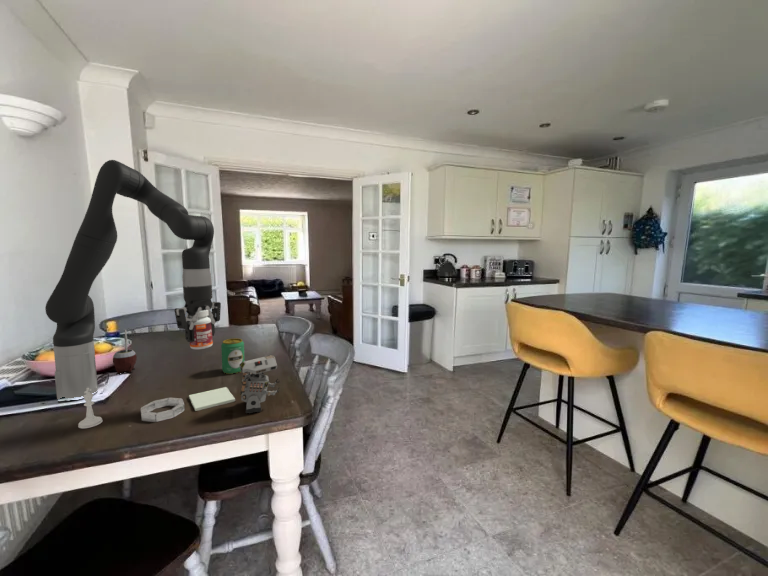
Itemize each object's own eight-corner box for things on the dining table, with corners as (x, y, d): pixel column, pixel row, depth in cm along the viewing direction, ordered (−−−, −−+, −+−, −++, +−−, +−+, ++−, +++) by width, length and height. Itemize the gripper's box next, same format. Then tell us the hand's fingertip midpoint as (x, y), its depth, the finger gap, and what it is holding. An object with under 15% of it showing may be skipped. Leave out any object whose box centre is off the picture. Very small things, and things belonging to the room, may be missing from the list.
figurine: (281, 409, 100) (280, 361, 98) (239, 415, 96) (238, 365, 94) (279, 396, 108) (278, 351, 106) (241, 401, 104) (239, 355, 102)
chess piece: (107, 419, 92) (104, 384, 91) (92, 428, 87) (89, 392, 86) (88, 418, 92) (86, 384, 91) (73, 428, 87) (69, 391, 86)
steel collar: (142, 425, 89) (141, 418, 89) (140, 410, 97) (140, 403, 97) (186, 414, 96) (185, 407, 95) (181, 401, 104) (180, 395, 103)
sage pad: (195, 411, 98) (195, 408, 97) (189, 397, 106) (189, 395, 106) (235, 401, 104) (235, 398, 104) (226, 389, 113) (226, 386, 113)
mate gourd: (122, 376, 122) (119, 336, 120) (107, 373, 124) (104, 334, 123) (142, 369, 129) (140, 331, 127) (128, 367, 131) (126, 329, 130)
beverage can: (225, 376, 124) (224, 344, 123) (219, 369, 130) (218, 340, 129) (247, 371, 129) (246, 341, 128) (241, 365, 135) (240, 336, 134)
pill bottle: (199, 351, 97) (195, 313, 96) (185, 348, 100) (181, 311, 98) (217, 345, 103) (214, 309, 101) (204, 342, 105) (201, 307, 104)
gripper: (209, 281, 107) (212, 332, 109) (165, 285, 94) (169, 343, 96) (226, 282, 104) (229, 334, 106) (183, 287, 91) (187, 346, 93)
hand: (200, 338), depth 101 cm, fingers closed on pill bottle, 6 cm apart
